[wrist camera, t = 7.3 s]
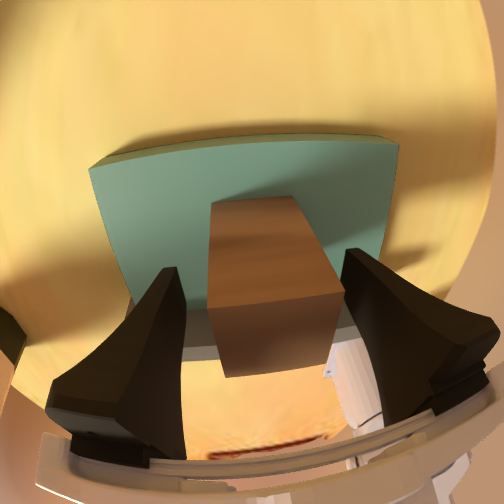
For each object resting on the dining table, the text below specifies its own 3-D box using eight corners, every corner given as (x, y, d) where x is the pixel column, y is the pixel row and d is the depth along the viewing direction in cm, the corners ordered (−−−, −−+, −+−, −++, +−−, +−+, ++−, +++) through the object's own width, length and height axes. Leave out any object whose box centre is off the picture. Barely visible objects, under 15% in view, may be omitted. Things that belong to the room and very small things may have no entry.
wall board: (367, 283, 20) (394, 329, 16) (138, 308, 19) (125, 362, 15) (393, 137, 14) (447, 164, 10) (88, 161, 13) (43, 197, 9)
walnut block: (290, 259, 16) (326, 363, 10) (220, 267, 15) (225, 377, 10) (291, 195, 13) (345, 290, 8) (211, 202, 13) (207, 308, 7)
